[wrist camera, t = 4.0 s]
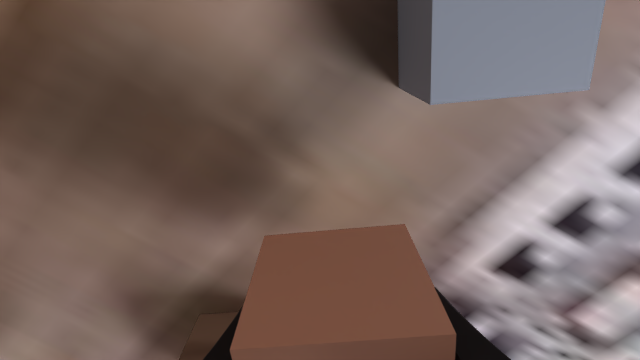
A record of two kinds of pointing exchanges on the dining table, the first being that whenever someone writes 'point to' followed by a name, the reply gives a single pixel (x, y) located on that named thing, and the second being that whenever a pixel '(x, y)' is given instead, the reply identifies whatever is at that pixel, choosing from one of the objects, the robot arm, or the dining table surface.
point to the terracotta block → (342, 300)
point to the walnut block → (206, 334)
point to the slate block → (496, 47)
